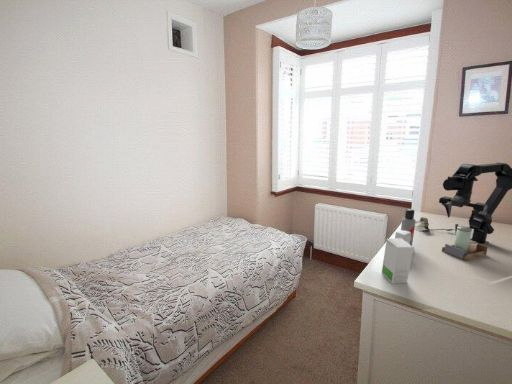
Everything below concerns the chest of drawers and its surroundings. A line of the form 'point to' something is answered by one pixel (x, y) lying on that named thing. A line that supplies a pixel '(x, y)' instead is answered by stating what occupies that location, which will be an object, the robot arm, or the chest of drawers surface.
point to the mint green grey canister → (463, 238)
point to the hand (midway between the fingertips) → (459, 219)
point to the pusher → (454, 251)
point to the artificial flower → (424, 224)
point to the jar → (472, 247)
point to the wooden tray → (480, 252)
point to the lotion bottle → (409, 223)
